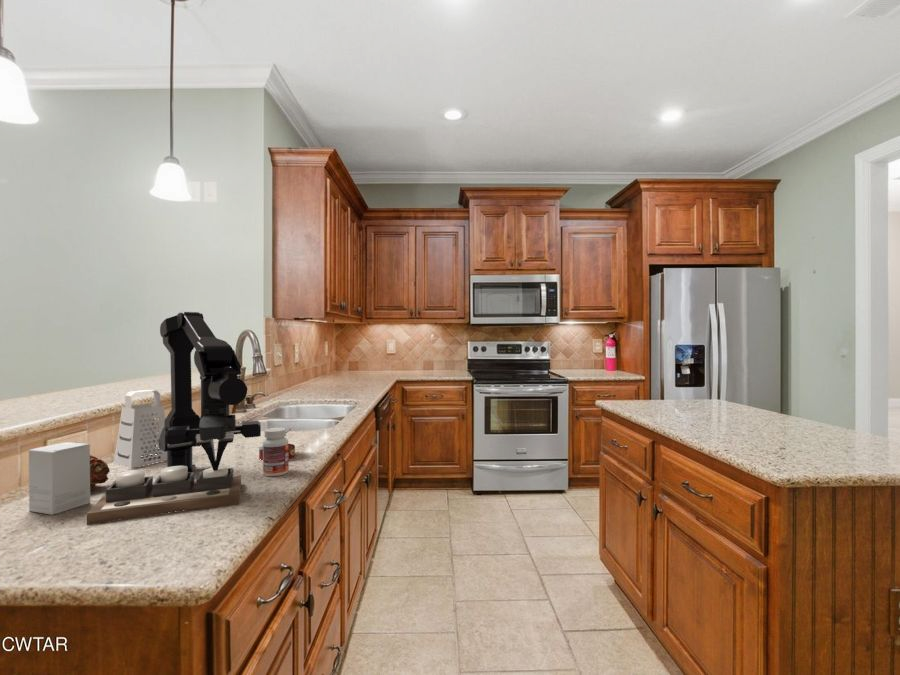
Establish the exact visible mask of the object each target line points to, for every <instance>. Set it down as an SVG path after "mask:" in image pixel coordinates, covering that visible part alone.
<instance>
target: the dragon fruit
mask: <svg viewBox="0 0 900 675" xmlns="http://www.w3.org/2000/svg"><path fill="white" fill-rule="evenodd" d="M110 471H111V470H110V467H109V466H108V464H107V463H106V461H104V460H102V459H99V458H98V457H96V456H94V455H91V454H90V491H92V490H95V487H96V485H97V484H99V485H101V484H105V483H106V482H107V481H108V480H109V477H108V475H109V473H110Z"/></svg>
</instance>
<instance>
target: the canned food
mask: <svg viewBox="0 0 900 675" xmlns="http://www.w3.org/2000/svg"><path fill="white" fill-rule="evenodd" d="M291 429H292V428H289V429H288V430H286V434H287V433H289V431H291ZM258 450H259V451H258V454H259V455H258V457H259V460H260V459H261V460H263V445H262V446H260V447H259V448H258ZM294 456H295V457H296V446H295V444H293V443H288V460H291V459H293V458H295V457H294ZM292 457H293V458H292ZM290 458H291V459H290ZM261 460H260V461H261Z"/></svg>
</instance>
